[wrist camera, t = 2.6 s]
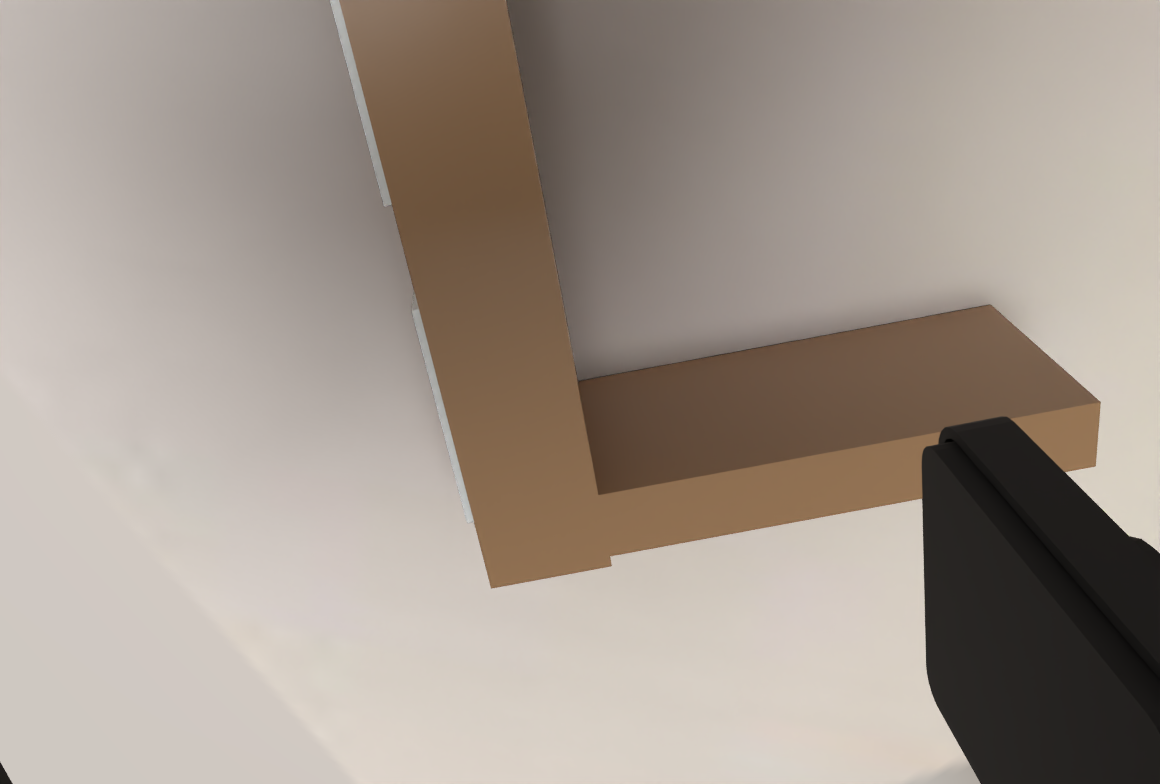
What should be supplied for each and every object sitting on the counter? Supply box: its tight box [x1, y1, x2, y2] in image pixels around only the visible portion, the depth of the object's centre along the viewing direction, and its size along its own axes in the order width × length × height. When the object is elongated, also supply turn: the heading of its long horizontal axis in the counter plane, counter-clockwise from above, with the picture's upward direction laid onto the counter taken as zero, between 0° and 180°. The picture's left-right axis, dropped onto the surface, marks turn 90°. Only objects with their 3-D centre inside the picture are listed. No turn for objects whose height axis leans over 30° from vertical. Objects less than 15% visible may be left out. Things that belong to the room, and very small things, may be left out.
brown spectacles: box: [330, 0, 1101, 588], centre depth 20 cm, size 14×13×5 cm
